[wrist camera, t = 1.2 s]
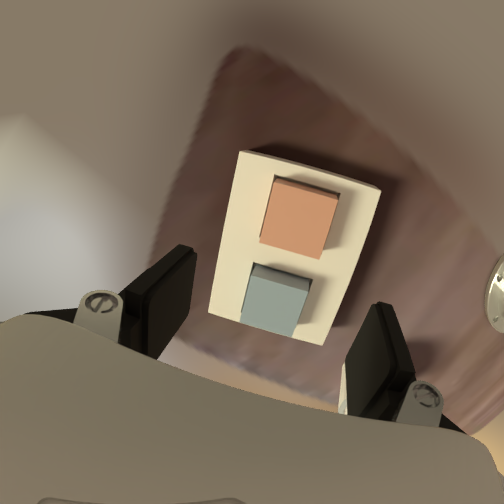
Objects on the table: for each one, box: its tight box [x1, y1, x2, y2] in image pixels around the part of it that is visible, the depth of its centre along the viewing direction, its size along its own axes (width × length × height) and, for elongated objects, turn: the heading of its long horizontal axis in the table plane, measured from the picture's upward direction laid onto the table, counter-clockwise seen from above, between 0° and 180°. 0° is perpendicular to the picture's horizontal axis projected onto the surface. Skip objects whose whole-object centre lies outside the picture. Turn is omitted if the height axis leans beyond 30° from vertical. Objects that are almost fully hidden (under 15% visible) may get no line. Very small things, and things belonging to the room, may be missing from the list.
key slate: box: [239, 264, 309, 337], centre depth 27 cm, size 5×5×2 cm
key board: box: [208, 150, 381, 345], centre depth 28 cm, size 12×16×3 cm
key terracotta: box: [259, 178, 338, 260], centre depth 24 cm, size 5×5×2 cm
